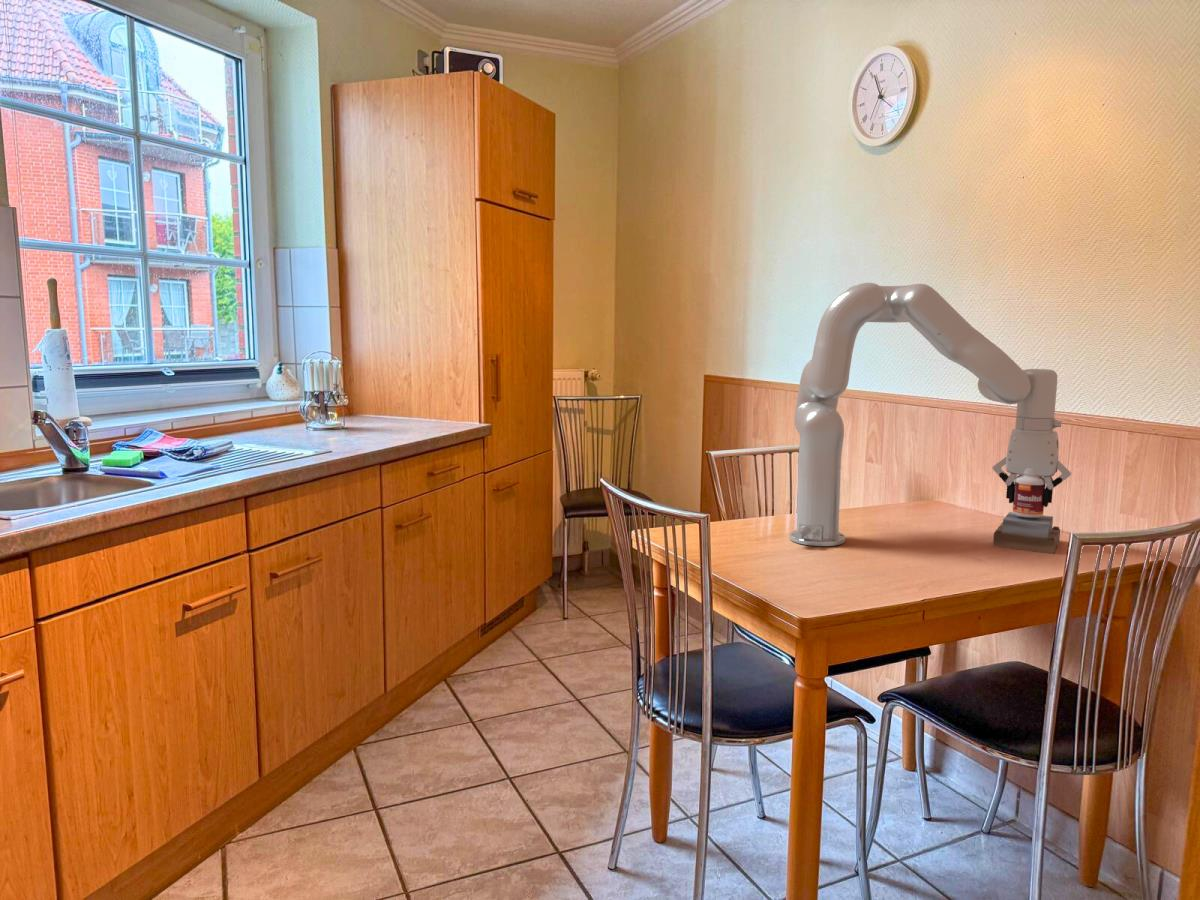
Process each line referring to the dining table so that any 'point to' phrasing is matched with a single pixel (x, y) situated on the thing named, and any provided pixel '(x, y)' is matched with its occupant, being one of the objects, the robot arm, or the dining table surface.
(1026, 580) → the dining table surface
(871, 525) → the dining table surface
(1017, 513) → the pill bottle
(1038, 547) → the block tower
